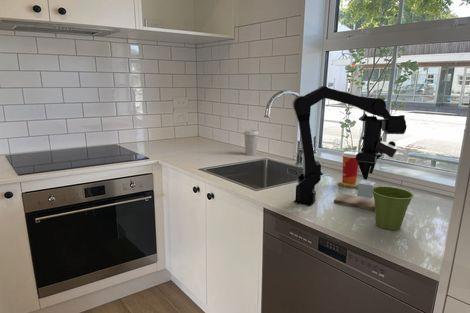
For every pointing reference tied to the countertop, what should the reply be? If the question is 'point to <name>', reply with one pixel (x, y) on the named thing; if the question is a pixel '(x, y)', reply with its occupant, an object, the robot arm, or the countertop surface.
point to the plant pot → (390, 206)
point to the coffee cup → (251, 141)
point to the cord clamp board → (354, 199)
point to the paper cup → (349, 168)
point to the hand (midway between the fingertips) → (368, 176)
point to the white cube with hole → (365, 189)
